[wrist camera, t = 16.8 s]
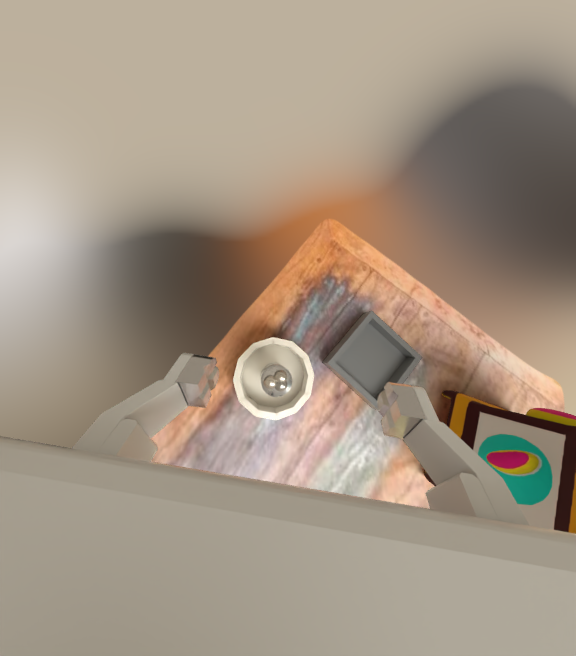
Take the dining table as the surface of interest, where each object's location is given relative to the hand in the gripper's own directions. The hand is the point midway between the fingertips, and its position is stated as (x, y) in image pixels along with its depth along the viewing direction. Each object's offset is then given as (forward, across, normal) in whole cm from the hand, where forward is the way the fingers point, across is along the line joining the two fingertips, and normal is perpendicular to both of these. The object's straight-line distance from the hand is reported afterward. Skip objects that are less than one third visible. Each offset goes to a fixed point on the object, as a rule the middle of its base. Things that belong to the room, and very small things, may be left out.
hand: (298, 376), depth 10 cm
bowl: (+18, +4, +24) cm, 30 cm away
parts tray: (+24, -14, +22) cm, 35 cm away
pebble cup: (+17, +4, +23) cm, 29 cm away
